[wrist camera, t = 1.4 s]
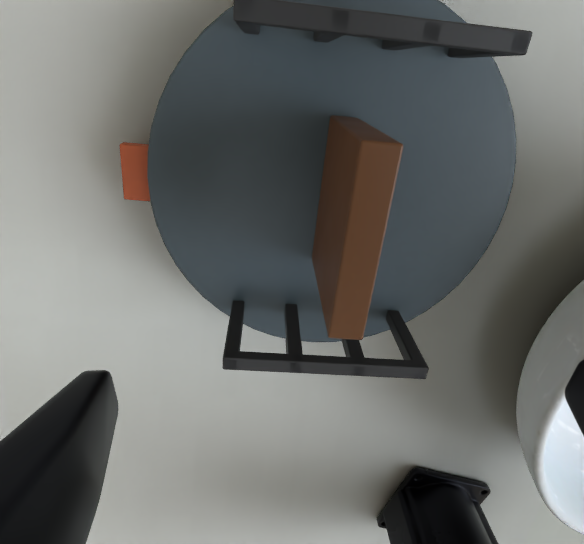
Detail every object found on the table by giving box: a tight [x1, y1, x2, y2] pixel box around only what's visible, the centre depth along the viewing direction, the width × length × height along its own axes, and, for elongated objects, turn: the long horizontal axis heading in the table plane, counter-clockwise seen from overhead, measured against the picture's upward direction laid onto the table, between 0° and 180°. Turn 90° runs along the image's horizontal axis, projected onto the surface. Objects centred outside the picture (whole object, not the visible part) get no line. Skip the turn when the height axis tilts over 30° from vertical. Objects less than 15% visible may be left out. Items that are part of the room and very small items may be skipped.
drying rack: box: [120, 0, 532, 379], centre depth 16 cm, size 17×16×7 cm
